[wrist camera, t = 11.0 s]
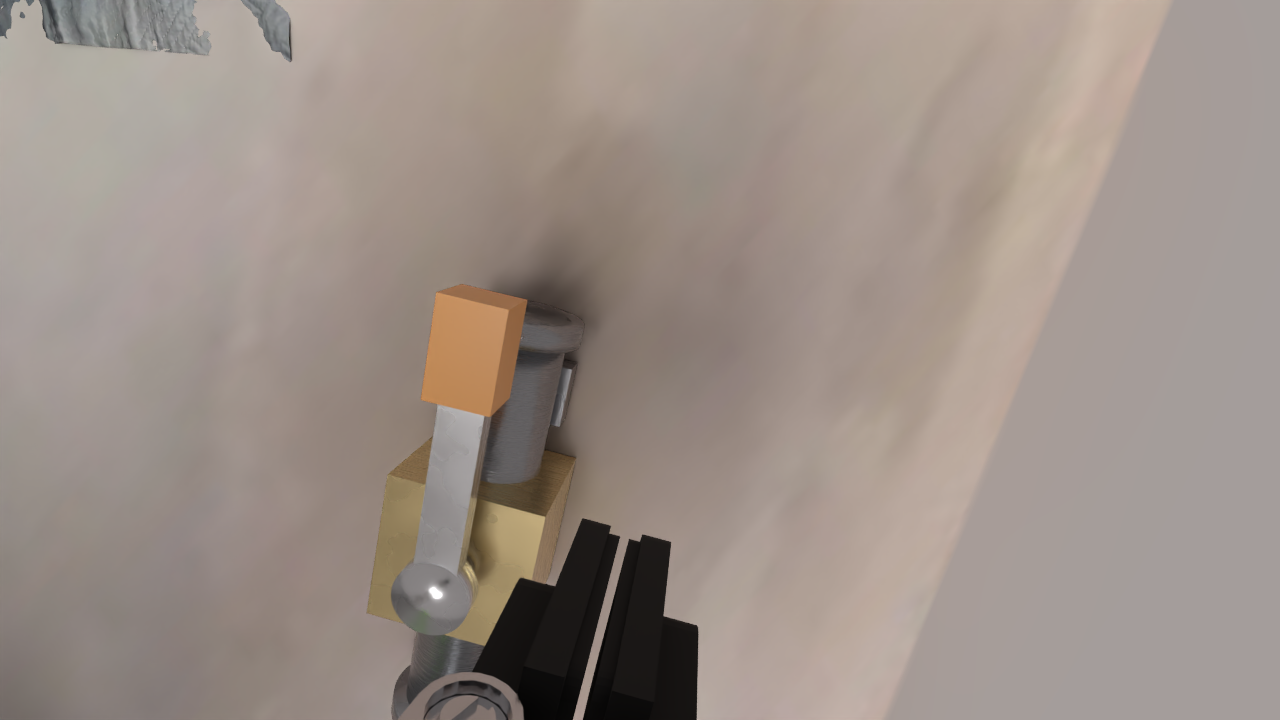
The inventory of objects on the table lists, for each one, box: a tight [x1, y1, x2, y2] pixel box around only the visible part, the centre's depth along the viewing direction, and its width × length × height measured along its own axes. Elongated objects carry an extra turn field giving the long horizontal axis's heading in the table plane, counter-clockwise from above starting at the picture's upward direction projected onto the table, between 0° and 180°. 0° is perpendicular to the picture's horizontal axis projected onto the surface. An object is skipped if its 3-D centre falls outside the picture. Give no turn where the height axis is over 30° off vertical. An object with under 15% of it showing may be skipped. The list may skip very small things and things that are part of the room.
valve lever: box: [391, 284, 527, 635], centre depth 25 cm, size 14×3×2 cm, turn 167°
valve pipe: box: [367, 300, 584, 720], centre depth 31 cm, size 22×7×8 cm, turn 167°
